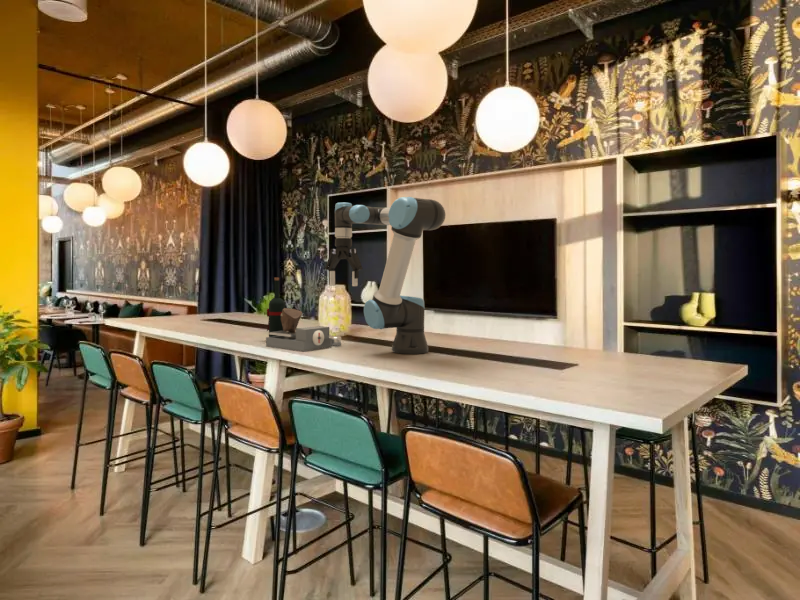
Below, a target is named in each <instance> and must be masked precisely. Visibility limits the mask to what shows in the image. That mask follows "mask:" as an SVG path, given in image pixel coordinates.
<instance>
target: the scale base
mask: <svg viewBox="0 0 800 600" xmlns="http://www.w3.org/2000/svg"><path fill="white" fill-rule="evenodd" d="M329 335H330V326H323V325H317V326H309V327H308V326H307V327H301V328H300V327H299V328H298V327H297V328H296V336H295V337H287V336H272V337H269V336H265V347H267V346H268V348H269V347H270V348H275V349H283V350H289V351H297V352H309V351H311V352H312V351H316V350H323V349H329V348H331V347H332V346H331V338H329Z"/></svg>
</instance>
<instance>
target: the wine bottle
mask: <svg viewBox="0 0 800 600" xmlns="http://www.w3.org/2000/svg"><path fill="white" fill-rule="evenodd" d="M273 278H274V297H273V298H272V299H271V300H270V301H269V302H268V308H267V309H266V316H267V318H268V323H267V330H266V332H268V337H272V336H279V335H270V334H269V332H275V331H283V326H282V322H281V313H282V311H283V309H284V308H286V301H285V300H284V299H282V298H280V277H273Z"/></svg>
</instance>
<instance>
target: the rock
mask: <svg viewBox="0 0 800 600" xmlns="http://www.w3.org/2000/svg"><path fill="white" fill-rule="evenodd" d="M302 315H303V311H301V310H299V309H295V308H289V307H288V308H287V307H285V308H284V309H283V311H282V313H281V322H282V326H283V330H284V331H285V332H287V331H288V332H295V330H296V329H298V325H299V322H300V320H301V317H302Z"/></svg>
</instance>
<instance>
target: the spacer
mask: <svg viewBox="0 0 800 600" xmlns="http://www.w3.org/2000/svg"><path fill="white" fill-rule="evenodd" d="M330 338H331V347H341V346H342V336H339V335H335V336H334V335H331V337H330Z"/></svg>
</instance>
